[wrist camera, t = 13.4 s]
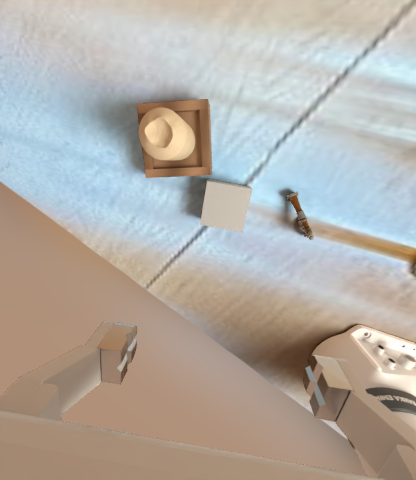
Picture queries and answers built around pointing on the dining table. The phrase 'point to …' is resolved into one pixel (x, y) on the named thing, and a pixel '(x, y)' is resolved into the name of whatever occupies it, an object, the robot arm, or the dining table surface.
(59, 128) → the dining table surface
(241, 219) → the grey block
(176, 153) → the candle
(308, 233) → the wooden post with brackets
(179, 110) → the square wooden tray
